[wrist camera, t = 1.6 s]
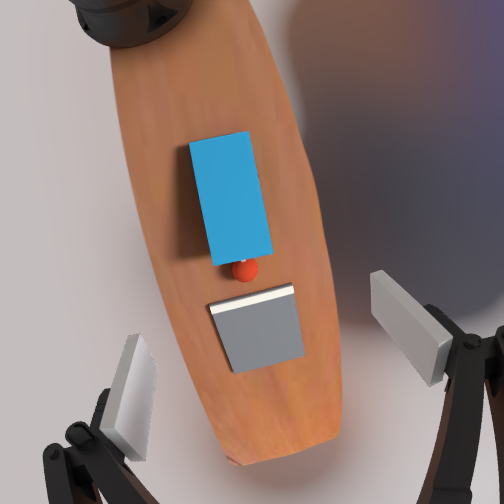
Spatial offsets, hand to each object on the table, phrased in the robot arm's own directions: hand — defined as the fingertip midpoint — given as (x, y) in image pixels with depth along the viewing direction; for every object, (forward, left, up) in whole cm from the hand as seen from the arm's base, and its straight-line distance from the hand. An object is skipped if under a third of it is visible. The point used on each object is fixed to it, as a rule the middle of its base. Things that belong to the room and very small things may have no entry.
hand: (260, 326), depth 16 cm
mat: (+18, +6, -24) cm, 31 cm away
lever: (0, 0, -25) cm, 25 cm away
